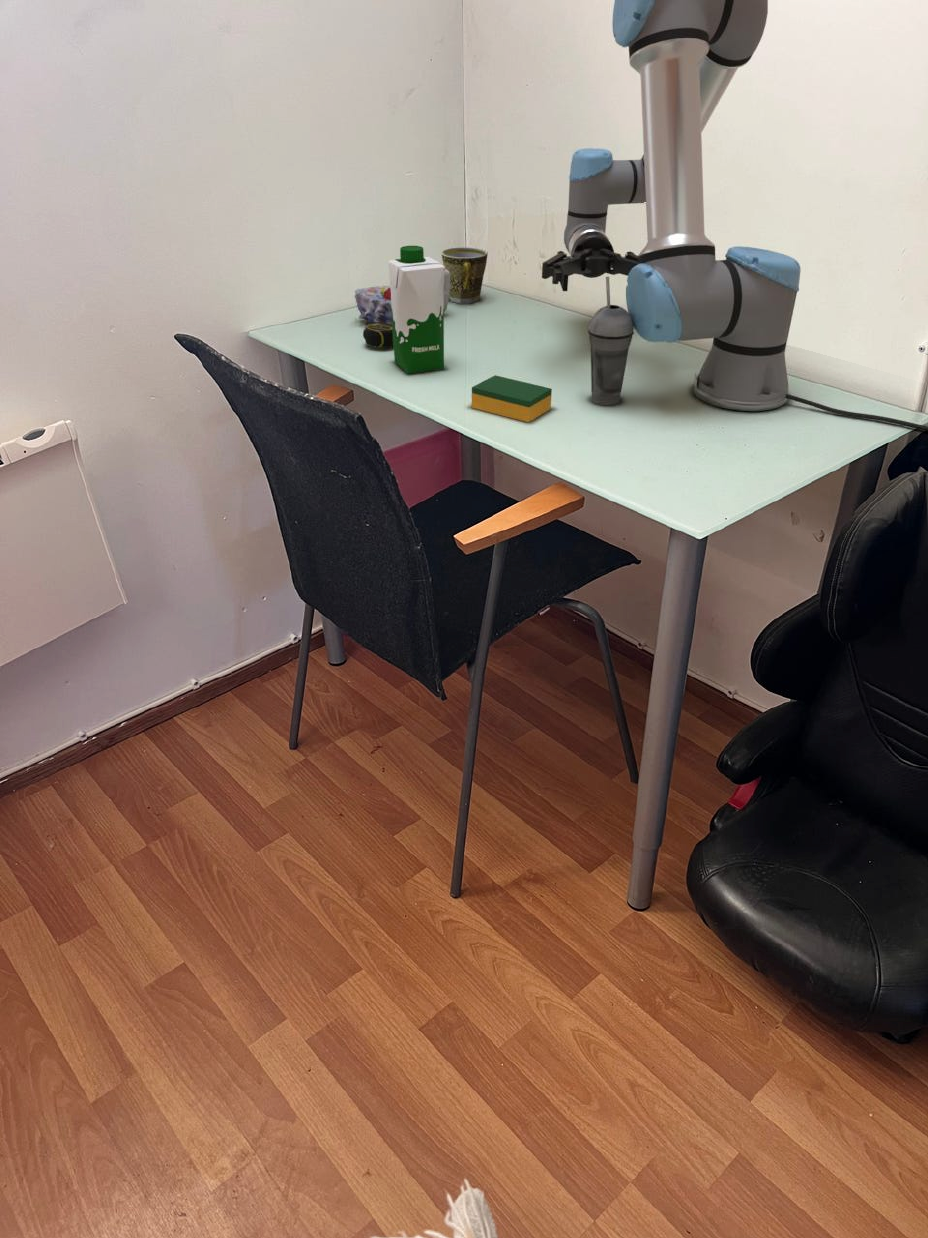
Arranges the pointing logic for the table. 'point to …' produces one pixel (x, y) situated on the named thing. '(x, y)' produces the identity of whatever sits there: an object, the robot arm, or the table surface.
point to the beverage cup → (609, 351)
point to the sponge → (511, 398)
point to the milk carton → (417, 311)
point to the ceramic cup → (465, 273)
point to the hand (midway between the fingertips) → (606, 283)
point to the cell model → (385, 301)
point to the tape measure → (378, 335)
